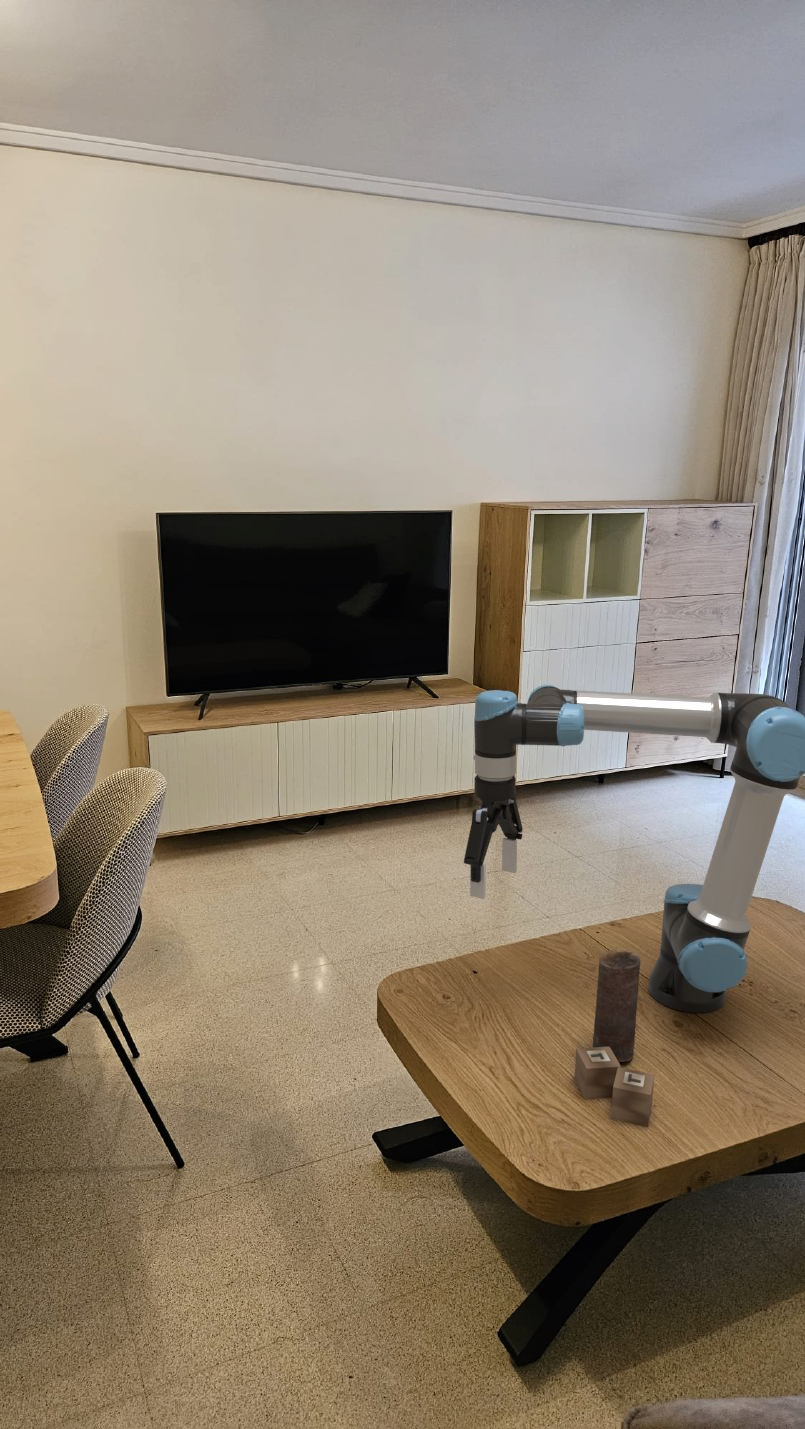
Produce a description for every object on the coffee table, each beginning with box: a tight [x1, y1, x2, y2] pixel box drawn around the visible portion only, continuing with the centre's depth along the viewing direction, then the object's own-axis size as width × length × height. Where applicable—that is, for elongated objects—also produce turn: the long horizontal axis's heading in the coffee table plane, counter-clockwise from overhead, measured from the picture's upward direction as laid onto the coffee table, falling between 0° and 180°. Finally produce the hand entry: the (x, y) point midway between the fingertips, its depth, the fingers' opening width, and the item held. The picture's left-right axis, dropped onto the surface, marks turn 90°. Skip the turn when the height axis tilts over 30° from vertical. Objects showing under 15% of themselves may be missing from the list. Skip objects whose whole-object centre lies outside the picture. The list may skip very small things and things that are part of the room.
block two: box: [573, 1046, 622, 1101], centre depth 169 cm, size 6×6×6 cm
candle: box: [592, 949, 641, 1063], centre depth 177 cm, size 8×7×20 cm
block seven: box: [610, 1067, 655, 1128], centre depth 163 cm, size 6×6×6 cm
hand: (494, 883), depth 185 cm, fingers open, 13 cm apart
